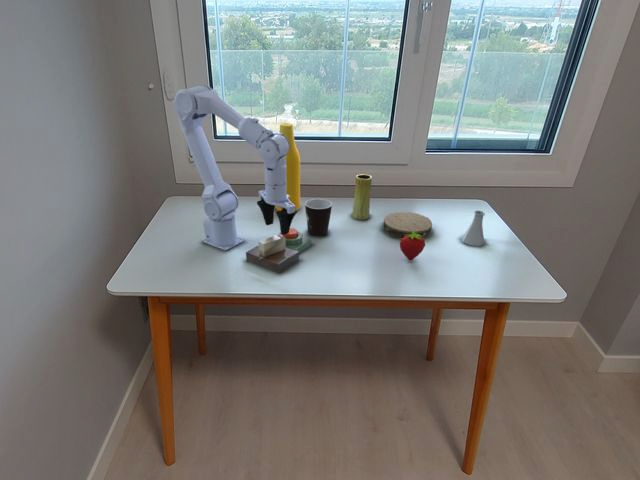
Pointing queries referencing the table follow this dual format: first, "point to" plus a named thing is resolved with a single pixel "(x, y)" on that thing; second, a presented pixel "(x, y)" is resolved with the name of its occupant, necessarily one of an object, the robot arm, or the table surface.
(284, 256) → the switch base
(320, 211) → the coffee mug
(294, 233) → the button
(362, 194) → the vase
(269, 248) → the cream rectangular block
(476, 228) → the flask
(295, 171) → the beer bottle
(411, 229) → the cork coaster disc
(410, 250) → the strawberry
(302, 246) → the button box
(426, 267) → the table surface
